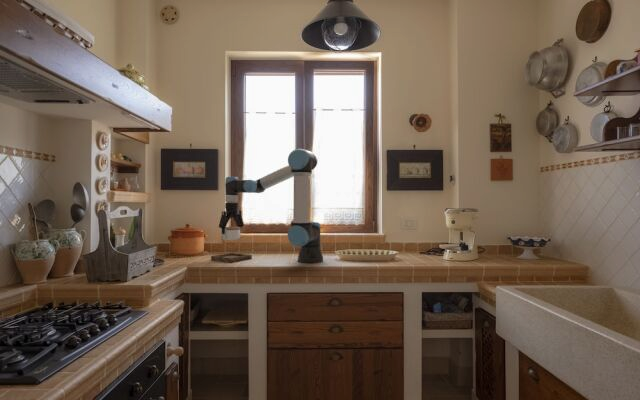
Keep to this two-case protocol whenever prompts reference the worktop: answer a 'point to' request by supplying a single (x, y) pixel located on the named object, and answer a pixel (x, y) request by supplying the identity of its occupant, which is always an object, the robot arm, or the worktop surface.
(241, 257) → the walnut tray
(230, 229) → the lidded jar
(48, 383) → the worktop surface
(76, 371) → the worktop surface
